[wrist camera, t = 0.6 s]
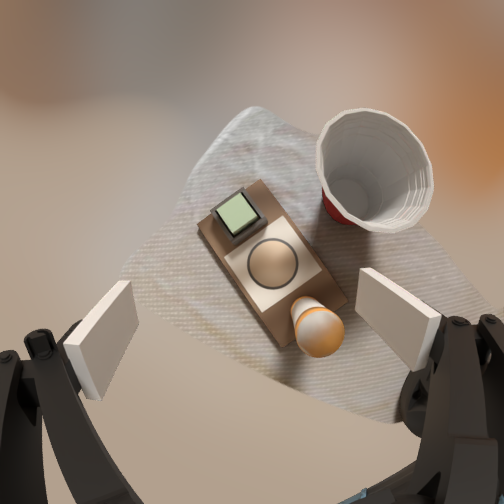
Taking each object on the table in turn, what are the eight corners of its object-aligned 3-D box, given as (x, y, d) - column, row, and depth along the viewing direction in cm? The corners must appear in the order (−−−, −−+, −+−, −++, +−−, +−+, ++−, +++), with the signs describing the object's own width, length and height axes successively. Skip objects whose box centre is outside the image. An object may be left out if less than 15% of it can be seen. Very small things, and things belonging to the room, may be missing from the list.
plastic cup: (358, 267, 30) (401, 262, 18) (284, 209, 31) (285, 171, 19) (404, 197, 30) (453, 162, 18) (335, 144, 31) (356, 87, 19)
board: (346, 300, 30) (353, 303, 27) (281, 345, 30) (281, 352, 27) (261, 181, 32) (259, 172, 29) (199, 225, 32) (191, 221, 29)
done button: (258, 219, 29) (256, 215, 27) (235, 235, 30) (232, 232, 28) (242, 198, 30) (240, 192, 28) (220, 213, 30) (216, 209, 28)
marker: (326, 314, 29) (353, 338, 17) (301, 331, 29) (313, 366, 17) (309, 289, 29) (327, 300, 17) (284, 307, 29) (286, 328, 17)
